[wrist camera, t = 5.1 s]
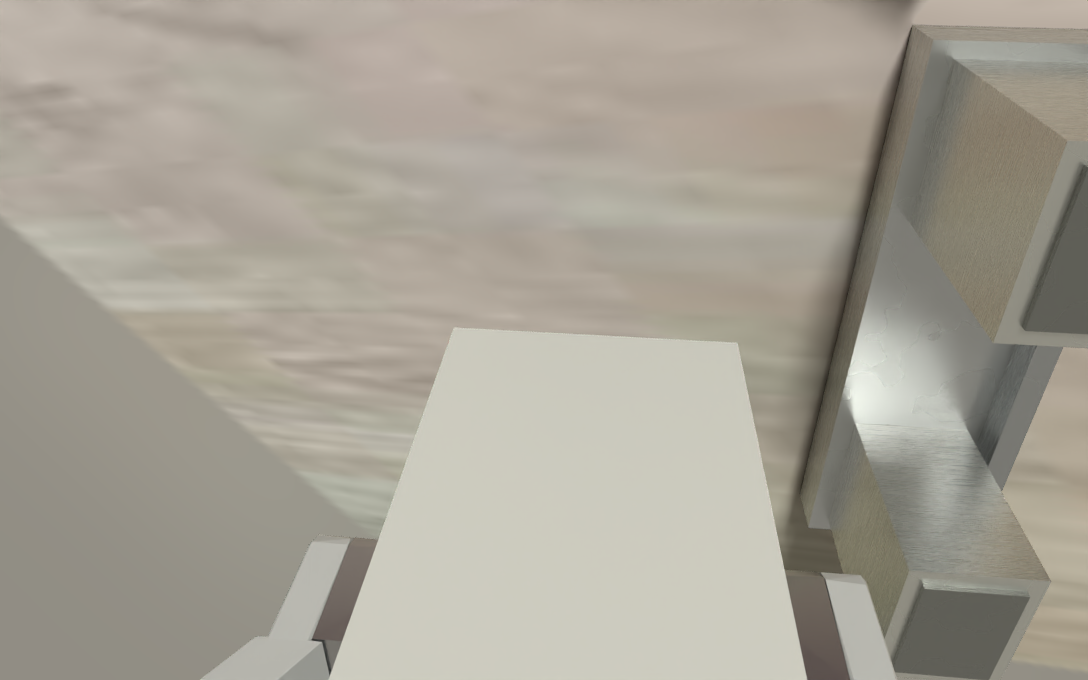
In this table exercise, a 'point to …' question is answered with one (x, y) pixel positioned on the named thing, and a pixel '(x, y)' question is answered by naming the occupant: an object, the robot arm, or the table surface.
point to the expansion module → (578, 522)
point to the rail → (956, 341)
